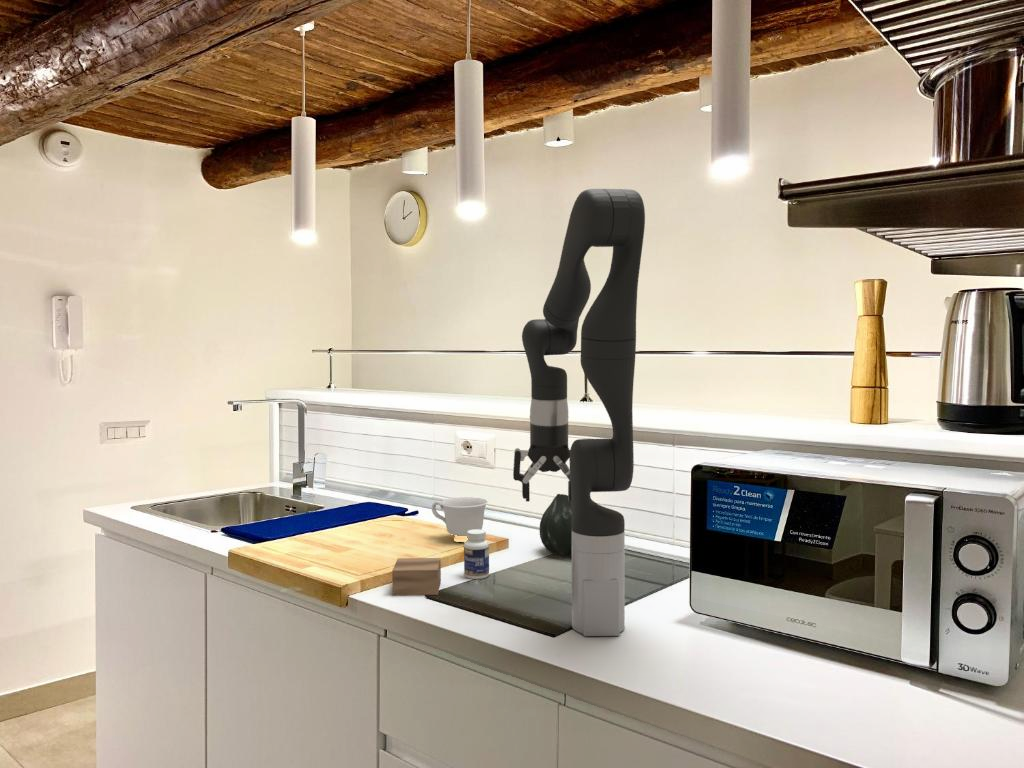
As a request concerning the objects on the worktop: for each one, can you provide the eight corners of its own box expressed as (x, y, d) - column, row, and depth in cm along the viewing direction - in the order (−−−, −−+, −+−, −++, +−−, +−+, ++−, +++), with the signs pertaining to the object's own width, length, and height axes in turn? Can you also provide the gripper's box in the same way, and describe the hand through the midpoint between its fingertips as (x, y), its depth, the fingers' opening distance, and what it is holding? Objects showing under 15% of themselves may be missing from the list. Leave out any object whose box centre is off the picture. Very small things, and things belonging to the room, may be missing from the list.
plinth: (437, 594, 156) (437, 570, 156) (392, 595, 156) (392, 570, 156) (440, 581, 165) (440, 557, 165) (398, 581, 165) (397, 558, 165)
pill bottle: (461, 578, 167) (460, 533, 167) (468, 571, 172) (467, 527, 172) (485, 580, 166) (485, 535, 165) (492, 573, 171) (491, 529, 171)
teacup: (441, 532, 209) (441, 495, 208) (494, 536, 204) (494, 498, 204) (422, 543, 197) (422, 504, 197) (478, 548, 193) (478, 507, 192)
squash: (622, 530, 187) (586, 479, 192) (587, 545, 175) (549, 491, 181) (586, 561, 194) (552, 512, 200) (550, 578, 183) (515, 524, 188)
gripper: (513, 424, 150) (513, 506, 153) (587, 424, 150) (586, 505, 153) (512, 417, 158) (513, 495, 160) (583, 416, 158) (582, 494, 160)
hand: (549, 500), depth 156 cm, fingers open, 8 cm apart
